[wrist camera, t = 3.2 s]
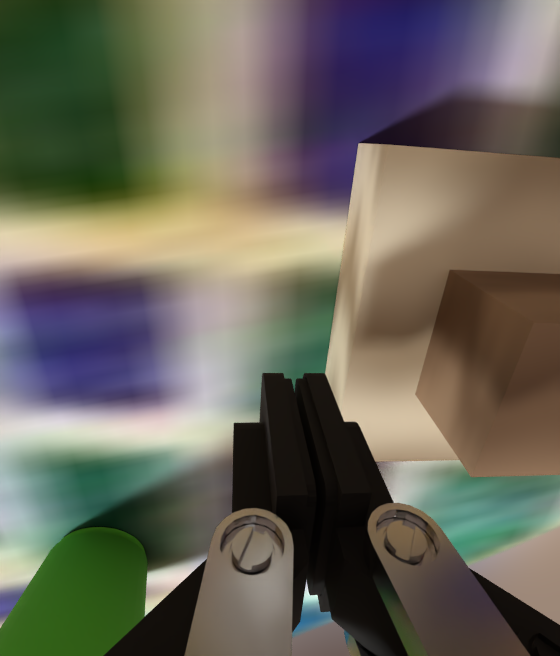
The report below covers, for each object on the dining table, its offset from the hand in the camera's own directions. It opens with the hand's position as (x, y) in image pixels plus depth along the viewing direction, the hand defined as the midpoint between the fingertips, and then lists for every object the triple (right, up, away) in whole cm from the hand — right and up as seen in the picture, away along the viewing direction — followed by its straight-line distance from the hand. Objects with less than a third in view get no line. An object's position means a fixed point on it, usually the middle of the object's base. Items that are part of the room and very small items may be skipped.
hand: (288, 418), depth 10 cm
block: (+8, +2, +3) cm, 9 cm away
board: (+9, +3, +6) cm, 11 cm away
